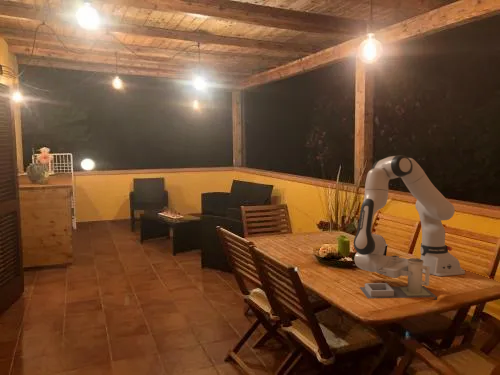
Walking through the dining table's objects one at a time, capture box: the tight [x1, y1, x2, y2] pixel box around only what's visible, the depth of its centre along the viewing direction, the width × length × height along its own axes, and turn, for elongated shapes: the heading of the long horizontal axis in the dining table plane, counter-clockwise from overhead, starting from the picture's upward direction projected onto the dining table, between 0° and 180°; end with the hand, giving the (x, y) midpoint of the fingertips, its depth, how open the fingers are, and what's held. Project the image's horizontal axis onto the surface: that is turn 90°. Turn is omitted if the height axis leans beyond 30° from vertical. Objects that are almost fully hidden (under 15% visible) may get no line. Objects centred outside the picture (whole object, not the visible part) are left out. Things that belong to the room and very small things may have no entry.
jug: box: [407, 257, 430, 293], centre depth 188 cm, size 9×7×14 cm
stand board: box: [359, 282, 438, 301], centre depth 190 cm, size 30×14×4 cm, turn 90°
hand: (416, 271), depth 189 cm, fingers open, 8 cm apart
